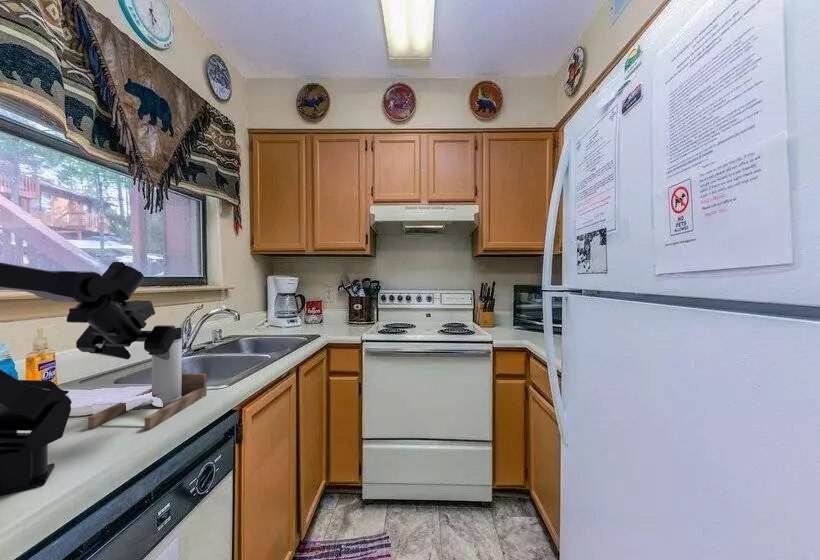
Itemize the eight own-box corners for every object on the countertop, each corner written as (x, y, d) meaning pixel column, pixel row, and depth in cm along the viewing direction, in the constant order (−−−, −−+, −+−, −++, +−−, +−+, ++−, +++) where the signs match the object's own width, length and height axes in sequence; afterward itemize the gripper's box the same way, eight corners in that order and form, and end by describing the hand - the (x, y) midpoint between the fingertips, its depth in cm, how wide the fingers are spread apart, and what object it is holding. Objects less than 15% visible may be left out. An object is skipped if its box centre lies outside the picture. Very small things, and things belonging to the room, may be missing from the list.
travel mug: (151, 410, 83) (151, 329, 82) (151, 401, 88) (152, 325, 88) (181, 404, 86) (182, 327, 86) (180, 397, 92) (181, 323, 91)
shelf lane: (150, 429, 73) (150, 402, 73) (88, 428, 73) (88, 400, 73) (206, 395, 94) (206, 373, 93) (158, 394, 93) (158, 372, 93)
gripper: (173, 290, 75) (202, 330, 86) (88, 288, 75) (128, 329, 86) (146, 331, 67) (182, 370, 79) (51, 329, 67) (101, 368, 78)
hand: (148, 358), depth 81 cm, fingers open, 9 cm apart
